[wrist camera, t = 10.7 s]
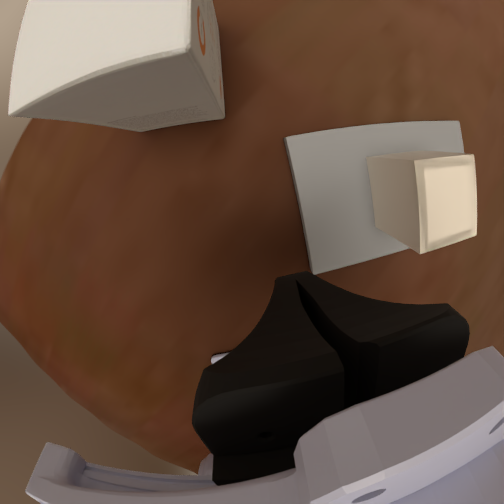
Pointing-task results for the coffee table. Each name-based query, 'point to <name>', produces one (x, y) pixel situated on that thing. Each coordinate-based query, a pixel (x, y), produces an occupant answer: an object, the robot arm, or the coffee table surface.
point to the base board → (353, 185)
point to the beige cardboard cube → (424, 197)
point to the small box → (118, 63)
